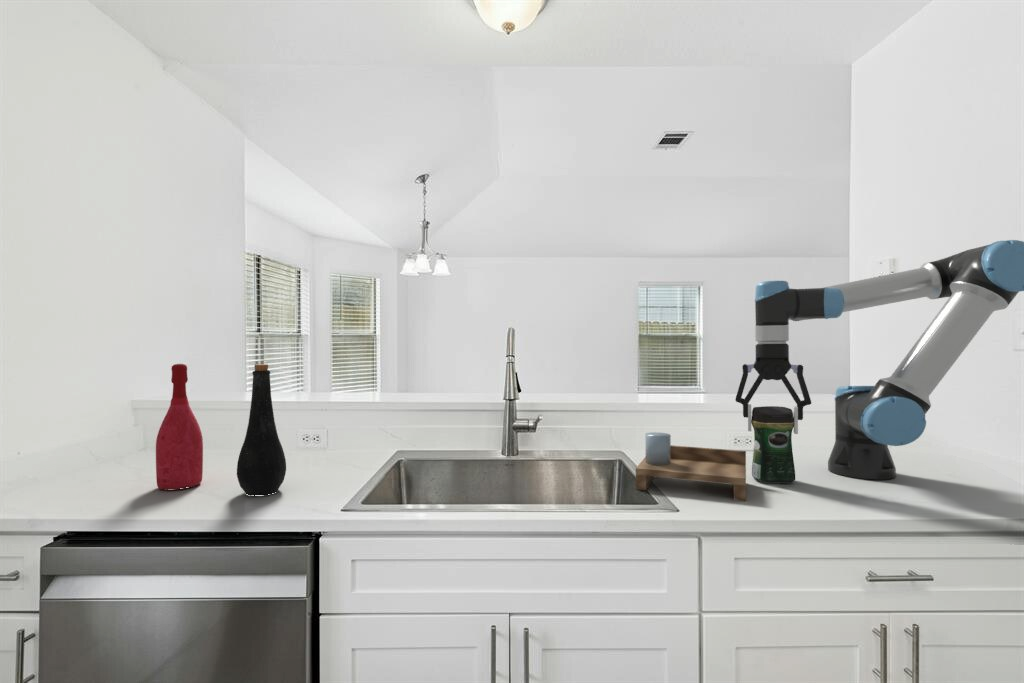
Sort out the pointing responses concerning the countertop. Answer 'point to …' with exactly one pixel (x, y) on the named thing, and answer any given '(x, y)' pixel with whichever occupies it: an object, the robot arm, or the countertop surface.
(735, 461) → the shelf
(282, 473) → the bottle
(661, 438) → the grey blue cylinder
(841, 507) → the countertop surface
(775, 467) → the coffee jar
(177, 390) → the wine bottle
